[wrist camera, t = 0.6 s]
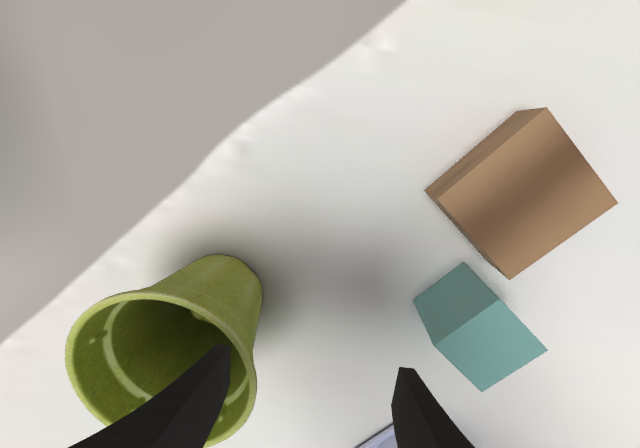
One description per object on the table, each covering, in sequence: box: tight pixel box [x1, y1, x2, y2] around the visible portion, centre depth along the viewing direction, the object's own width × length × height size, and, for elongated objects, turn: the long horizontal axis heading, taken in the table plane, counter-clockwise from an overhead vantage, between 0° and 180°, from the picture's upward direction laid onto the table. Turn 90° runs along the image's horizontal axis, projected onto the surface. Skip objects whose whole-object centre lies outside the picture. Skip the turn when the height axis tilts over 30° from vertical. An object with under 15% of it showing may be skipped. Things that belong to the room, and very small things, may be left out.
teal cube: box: [413, 262, 548, 392], centre depth 19 cm, size 4×4×5 cm
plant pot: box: [65, 255, 263, 448], centre depth 19 cm, size 9×9×9 cm
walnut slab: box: [424, 107, 618, 280], centre depth 18 cm, size 7×7×3 cm
